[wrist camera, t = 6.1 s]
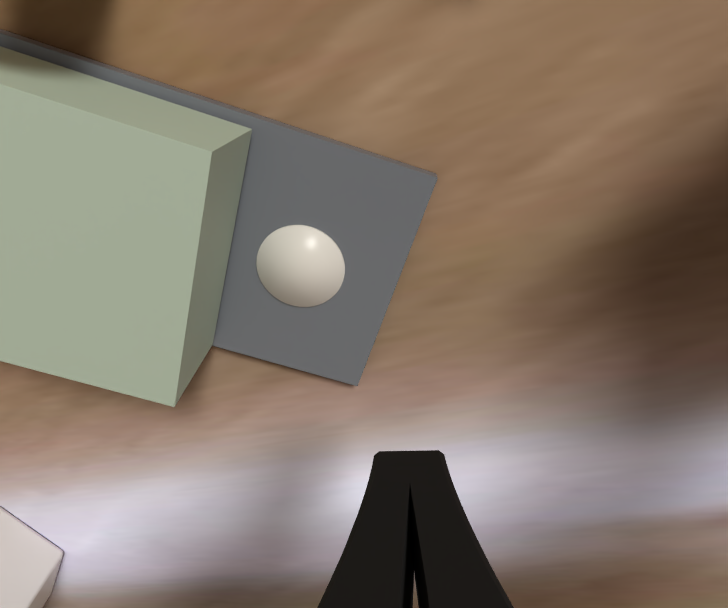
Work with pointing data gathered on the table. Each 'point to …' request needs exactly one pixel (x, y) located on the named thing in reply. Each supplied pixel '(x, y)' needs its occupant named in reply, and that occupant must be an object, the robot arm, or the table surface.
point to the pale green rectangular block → (111, 229)
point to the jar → (25, 564)
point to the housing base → (298, 233)
